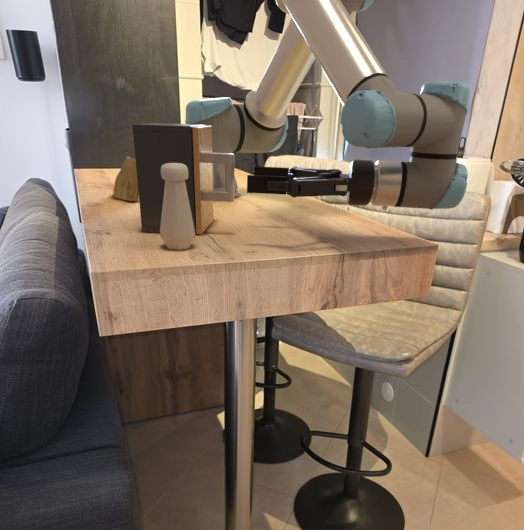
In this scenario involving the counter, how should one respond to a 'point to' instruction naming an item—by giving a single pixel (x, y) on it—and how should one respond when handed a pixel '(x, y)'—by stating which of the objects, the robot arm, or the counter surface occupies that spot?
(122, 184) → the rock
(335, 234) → the counter surface
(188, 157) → the dark grey cabinet
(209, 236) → the counter surface
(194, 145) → the door
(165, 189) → the salt shaker
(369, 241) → the counter surface
